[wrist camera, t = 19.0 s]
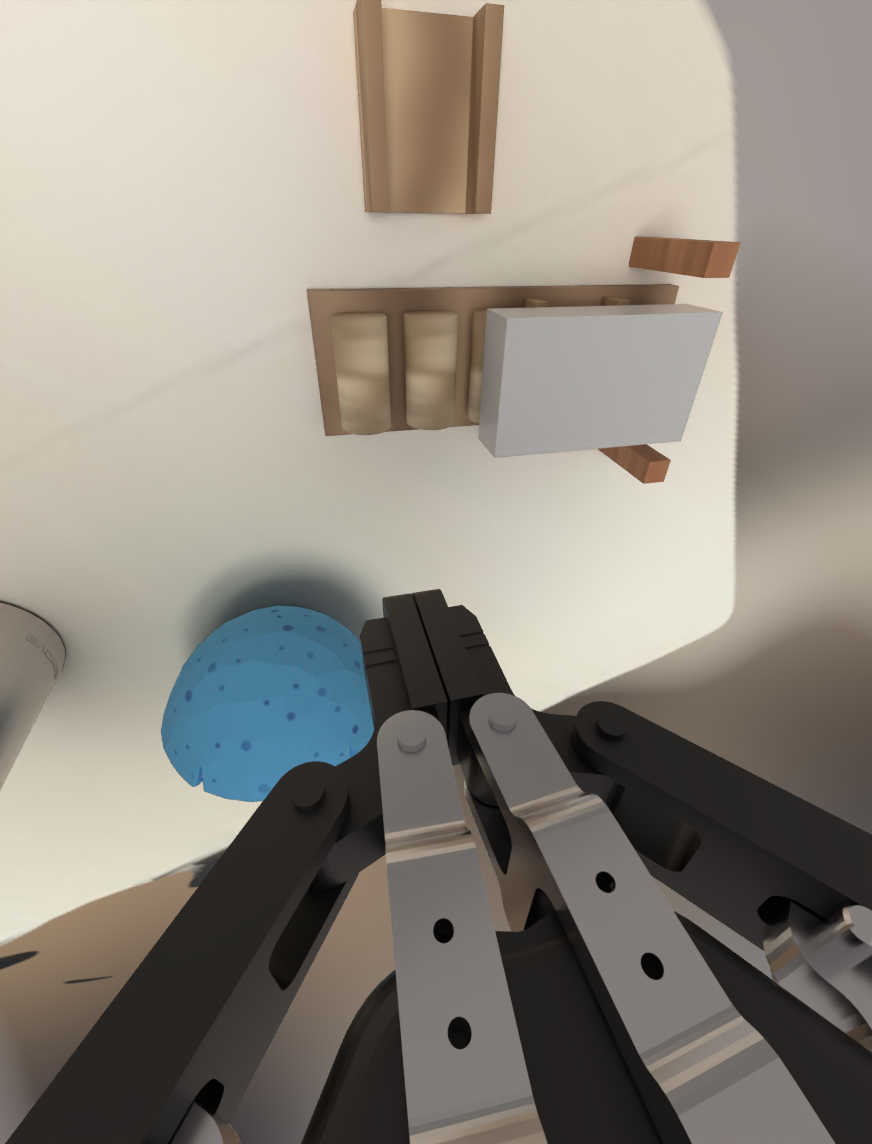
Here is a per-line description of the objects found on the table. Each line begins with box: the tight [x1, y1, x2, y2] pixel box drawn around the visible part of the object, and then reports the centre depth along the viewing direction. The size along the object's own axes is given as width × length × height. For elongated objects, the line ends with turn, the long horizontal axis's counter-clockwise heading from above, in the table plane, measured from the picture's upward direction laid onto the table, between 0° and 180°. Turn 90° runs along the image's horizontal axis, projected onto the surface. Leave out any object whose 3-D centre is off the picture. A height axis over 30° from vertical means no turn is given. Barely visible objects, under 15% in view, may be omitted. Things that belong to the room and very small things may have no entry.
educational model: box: [161, 606, 374, 802], centre depth 36 cm, size 16×19×15 cm
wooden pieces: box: [307, 0, 740, 484], centre depth 26 cm, size 23×21×7 cm
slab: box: [478, 304, 723, 458], centre depth 27 cm, size 12×7×3 cm, turn 89°
